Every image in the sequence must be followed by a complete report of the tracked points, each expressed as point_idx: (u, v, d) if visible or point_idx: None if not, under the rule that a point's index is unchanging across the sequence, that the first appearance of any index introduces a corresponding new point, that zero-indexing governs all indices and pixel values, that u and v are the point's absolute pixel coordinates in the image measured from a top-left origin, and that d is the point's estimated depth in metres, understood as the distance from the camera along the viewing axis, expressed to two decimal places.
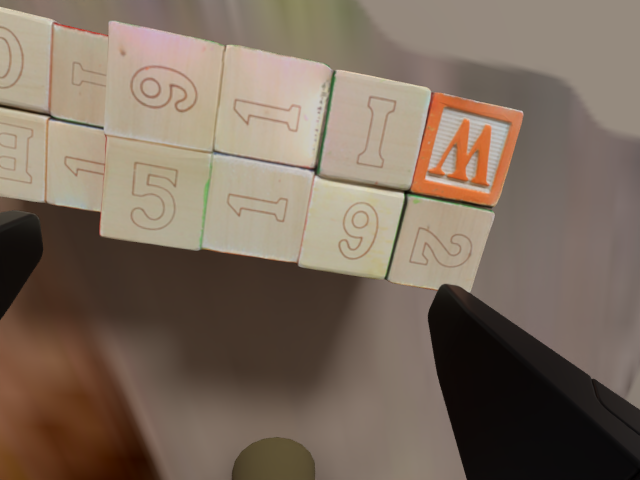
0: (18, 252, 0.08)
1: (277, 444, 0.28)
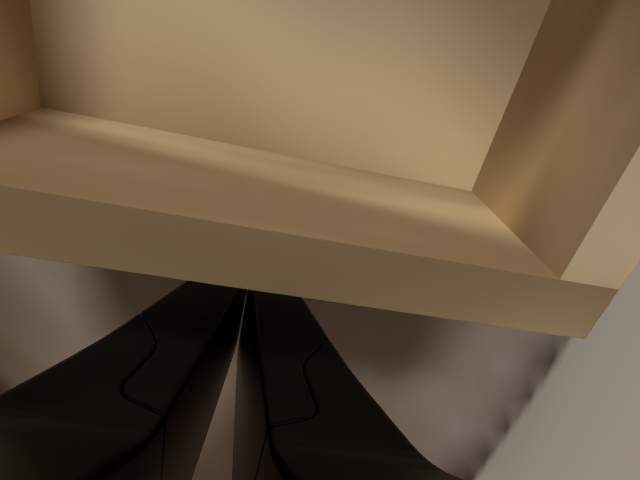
0: None
1: None
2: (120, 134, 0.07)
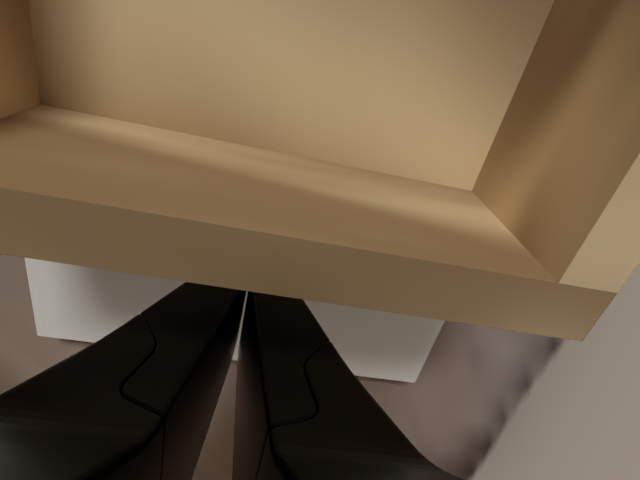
0: None
1: None
2: (120, 133, 0.07)
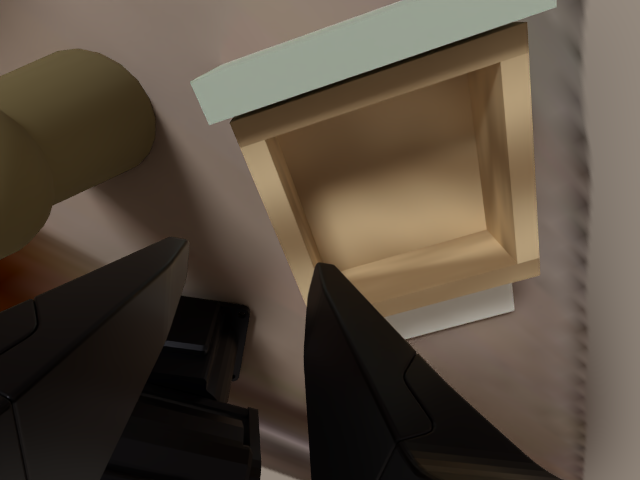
0: (179, 277, 0.08)
1: None
2: (358, 273, 0.22)
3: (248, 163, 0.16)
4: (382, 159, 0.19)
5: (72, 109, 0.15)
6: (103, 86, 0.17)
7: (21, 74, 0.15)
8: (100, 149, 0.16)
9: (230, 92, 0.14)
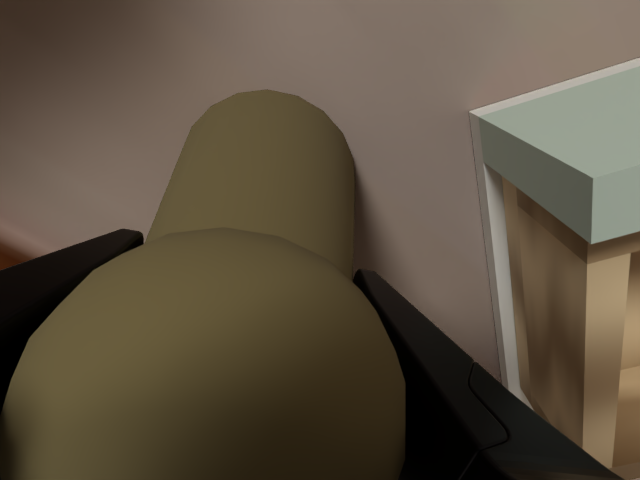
0: None
1: (209, 112, 0.12)
2: None
3: (589, 285, 0.10)
4: None
5: (338, 209, 0.09)
6: (333, 154, 0.11)
7: (255, 151, 0.09)
8: None
9: None
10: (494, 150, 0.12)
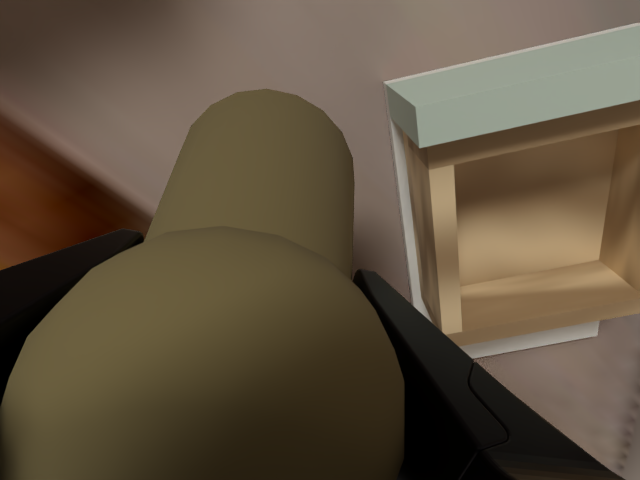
0: None
1: (209, 111, 0.12)
2: (475, 292, 0.23)
3: (431, 184, 0.16)
4: (521, 186, 0.20)
5: (337, 208, 0.09)
6: (333, 153, 0.11)
7: (254, 150, 0.09)
8: None
9: (449, 120, 0.14)
10: (392, 105, 0.18)
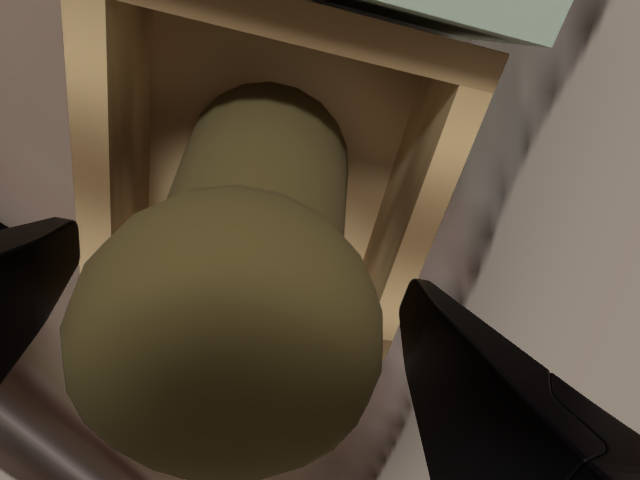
0: (60, 259, 0.08)
1: (217, 100, 0.13)
2: None
3: (65, 19, 0.10)
4: None
5: (332, 184, 0.10)
6: (329, 139, 0.12)
7: (260, 132, 0.10)
8: None
9: None
10: None
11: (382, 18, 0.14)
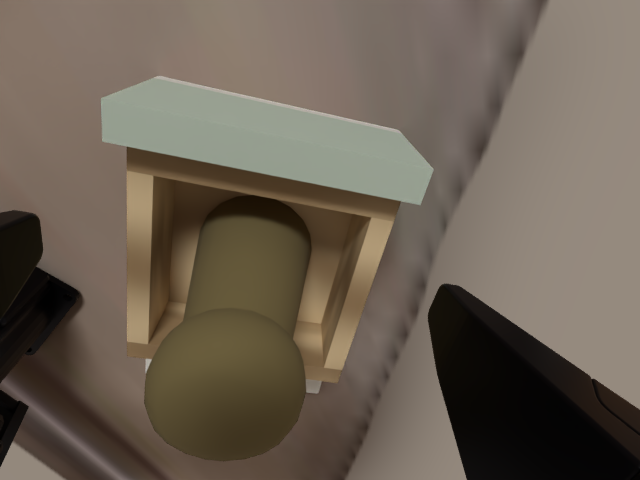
0: (18, 252, 0.08)
1: (219, 209, 0.20)
2: None
3: (128, 186, 0.16)
4: None
5: (289, 283, 0.16)
6: (292, 242, 0.19)
7: (245, 251, 0.16)
8: None
9: (136, 126, 0.14)
10: None
11: None
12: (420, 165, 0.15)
